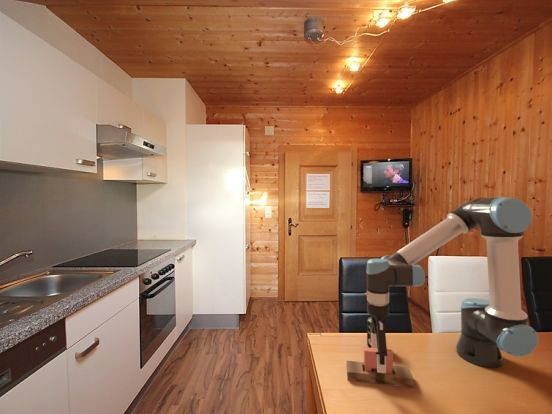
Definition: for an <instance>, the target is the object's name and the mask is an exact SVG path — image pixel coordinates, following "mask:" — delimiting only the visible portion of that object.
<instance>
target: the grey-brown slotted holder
mask: <svg viewBox="0 0 552 414" xmlns="http://www.w3.org/2000/svg"><path fill="white" fill-rule="evenodd" d="M346 377H347V381H350V382H360V383H368V384H369V383H370V384H375V385H377V384H379V385H387V386H396V387H404V388H415V379H414V376H413V374H412V372H411V370H410V368H409V366H404V365H394V364H393V370H392V374H386V373H378V372H377V369H376V368H371V372H367V371H365V366H364V361H355V360H354V361H353V360H346Z"/></svg>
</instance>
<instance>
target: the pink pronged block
mask: <svg viewBox="0 0 552 414" xmlns="http://www.w3.org/2000/svg"><path fill="white" fill-rule="evenodd" d="M376 352H378V348H369V347H368V346H367V347H363V362H364V366H365V371H367V372H371V368H376V369H377V354H376ZM387 354H388V355H387V356H386V374H392V370H393V365H394V353H393V351H392V349H388V348H387Z"/></svg>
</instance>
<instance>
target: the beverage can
mask: <svg viewBox="0 0 552 414" xmlns="http://www.w3.org/2000/svg"><path fill="white" fill-rule="evenodd" d="M370 326H371V317H368V318H367V322H366V345H367V347H368V348H371V333H373V332H371V327H370Z"/></svg>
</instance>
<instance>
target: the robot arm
mask: <svg viewBox="0 0 552 414" xmlns="http://www.w3.org/2000/svg"><path fill="white" fill-rule="evenodd" d="M532 222H533V214H532V211H531V208H530V207H529V205H528V204H526V203H525V202H524V201H523V200H521V199H518V198H516V197H509V196H505V197H504V196H500V197H499V196H498V197H477V198H474V199H471V200H469V201H466V202H465V203H463V204H461V205H459V206H457V208H455V209H453V210H452V211H451V212H449V213H448V214H447V215H446V218H444V220H441V222H439V223H437V224H436V225H435V226H433V227H431V228H430V229H428V230H427V231H426V232H424V233H422V234H421V235H420V236H418V237H416V239H414V240H412V241H411V242H409V243H408V244H406V245H404V247H402V248H400V249H399V250H397V251H396V252H394V253H393V254H391V255H384V256H382V257H381V258H378V257H377V258H370V259H369V260H367V262H366V270H365V271H366V292H365V293H364V295H365V296H366V300H367V302H366V312H367V313H368V315H371V317H370V318H371V326H370V327H371V332H373V333H371V348H378V352H376V354H377V372H378V373H386V356H387V355H388V354H387V349H388V348H387V347H388V345H387V335H386V321H385V320H384V318H385V317H388V316H389V315H390V287H412V288H414V287H421V286H424V284H425V282H426V271H424V270H425V269H424V268H423V267H422V266H421V265H419V264H416V263H418V262H420V261H421V260H423V259H424V258H425V257H427V256H429V255H430V254H431V253H433V252H434V251H437V249H440V248H441V247H442V246H444V245H445V244H447V243H449V242H450V241H452V240H453V239H454V238H456V237H457V236H459V235H460V234H467V233H469V232H470V231H472V230H474V229H475V230H476V229H480V236H481V237H482V238H483V239H484V240H486V241H485V242H486V259H487V260H486V261H487V277H488V298H489V299H483V298H471V297H470V298H464V299H462V301H461V305H460V319H461V321H460V322H461V325H460V328H461V329H460V332H461V333H460V336H459V338H458V340H457V342H456V345H455V347H456V349H455V350H456V351H455V352H456V353H457V355H458V356H459V357H460V358H462V359H463V360H465V361H466V362H469V363H471V364H473V365H478V366H480V367H485V368H499V367H501V366H503V363H504V360H503V354H502V352H505V354H506V353H507V354H508V355H509V356H513V357H524V356H527V355H529V354H531V353H532V352H534V351H535V349H536V348H537V347H538V343H539V335H538V333H537V331H536V330H535V329H534V328H533V327H531V326H530V325H529V317H528V314H527V313H526V312H525V311H524V310H523V309H522V299H521V298H522V296H521V295H522V294H521V280H520V279H521V278H520V277H521V276H520V275H521V274H520V260H519V257H520V254H519V240H521V239H522V238H523V237H524V232H525V231H526V230H528V229H529V226H531V225H532ZM501 351H502V352H501Z"/></svg>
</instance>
